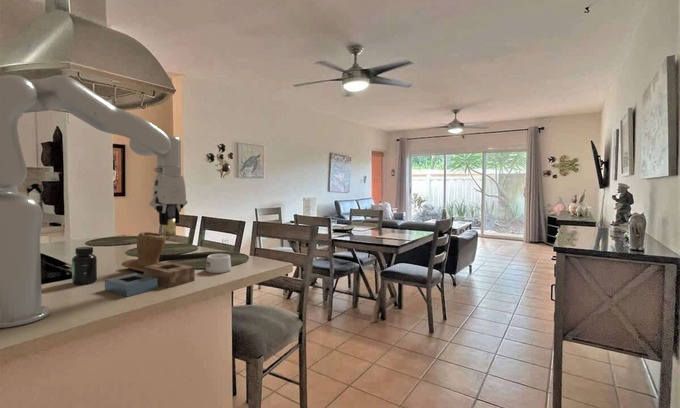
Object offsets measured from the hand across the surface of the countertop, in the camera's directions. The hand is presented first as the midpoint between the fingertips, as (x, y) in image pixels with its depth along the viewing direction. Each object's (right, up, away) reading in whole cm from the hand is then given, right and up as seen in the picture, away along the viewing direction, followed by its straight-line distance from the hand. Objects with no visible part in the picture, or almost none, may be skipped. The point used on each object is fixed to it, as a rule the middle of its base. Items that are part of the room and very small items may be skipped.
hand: (169, 223), depth 124 cm
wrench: (-9, -19, +31) cm, 37 cm away
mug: (+11, -20, +18) cm, 29 cm away
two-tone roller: (0, -4, 0) cm, 4 cm away
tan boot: (-17, -19, +15) cm, 30 cm away
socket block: (-8, -21, -10) cm, 24 cm away
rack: (-1, -21, +1) cm, 21 cm away
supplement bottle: (-27, -20, -4) cm, 34 cm away
